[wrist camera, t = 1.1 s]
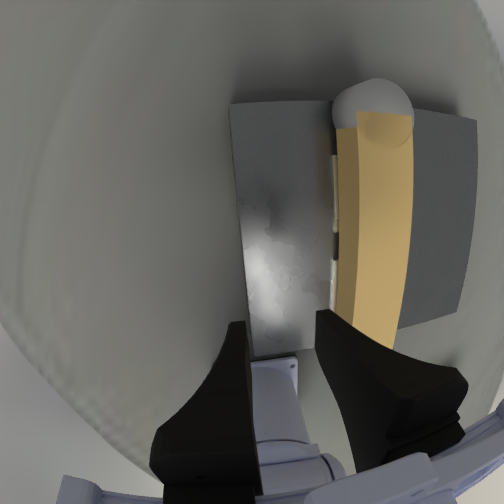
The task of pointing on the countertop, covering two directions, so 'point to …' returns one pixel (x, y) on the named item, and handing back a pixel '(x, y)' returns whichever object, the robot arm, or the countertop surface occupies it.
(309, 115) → the plate
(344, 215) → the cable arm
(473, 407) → the countertop surface
